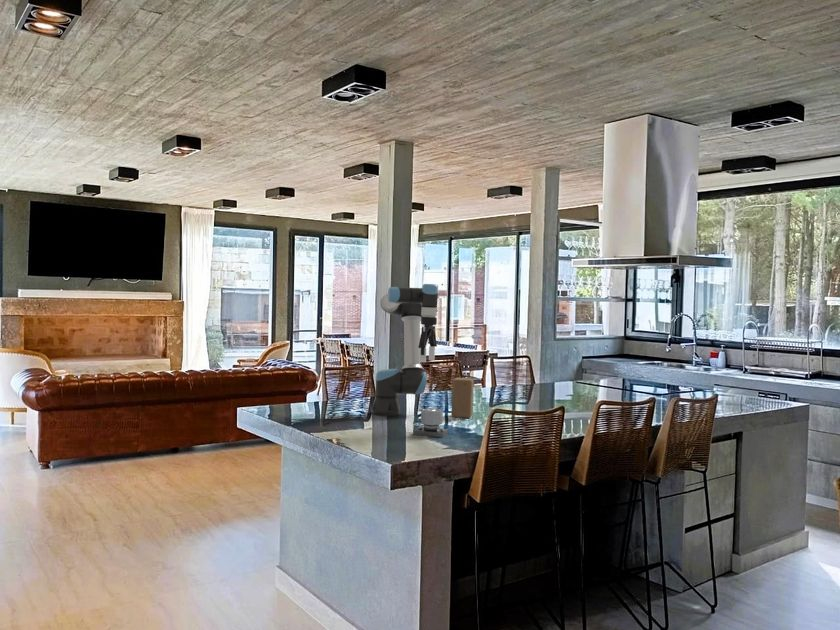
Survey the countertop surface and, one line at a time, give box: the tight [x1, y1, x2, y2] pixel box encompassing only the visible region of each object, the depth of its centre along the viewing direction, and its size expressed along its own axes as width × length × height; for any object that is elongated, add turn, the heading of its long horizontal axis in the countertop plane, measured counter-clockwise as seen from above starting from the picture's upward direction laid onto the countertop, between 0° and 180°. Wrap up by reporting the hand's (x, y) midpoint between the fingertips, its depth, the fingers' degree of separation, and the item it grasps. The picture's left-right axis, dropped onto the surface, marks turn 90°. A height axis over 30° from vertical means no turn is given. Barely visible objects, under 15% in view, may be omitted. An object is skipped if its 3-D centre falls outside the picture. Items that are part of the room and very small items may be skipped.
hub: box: [420, 407, 444, 426], centre depth 321 cm, size 9×9×6 cm
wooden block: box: [451, 377, 475, 419], centre depth 373 cm, size 10×10×20 cm
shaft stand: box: [412, 409, 450, 439], centre depth 321 cm, size 14×10×11 cm
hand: (427, 361), depth 337 cm, fingers open, 13 cm apart
